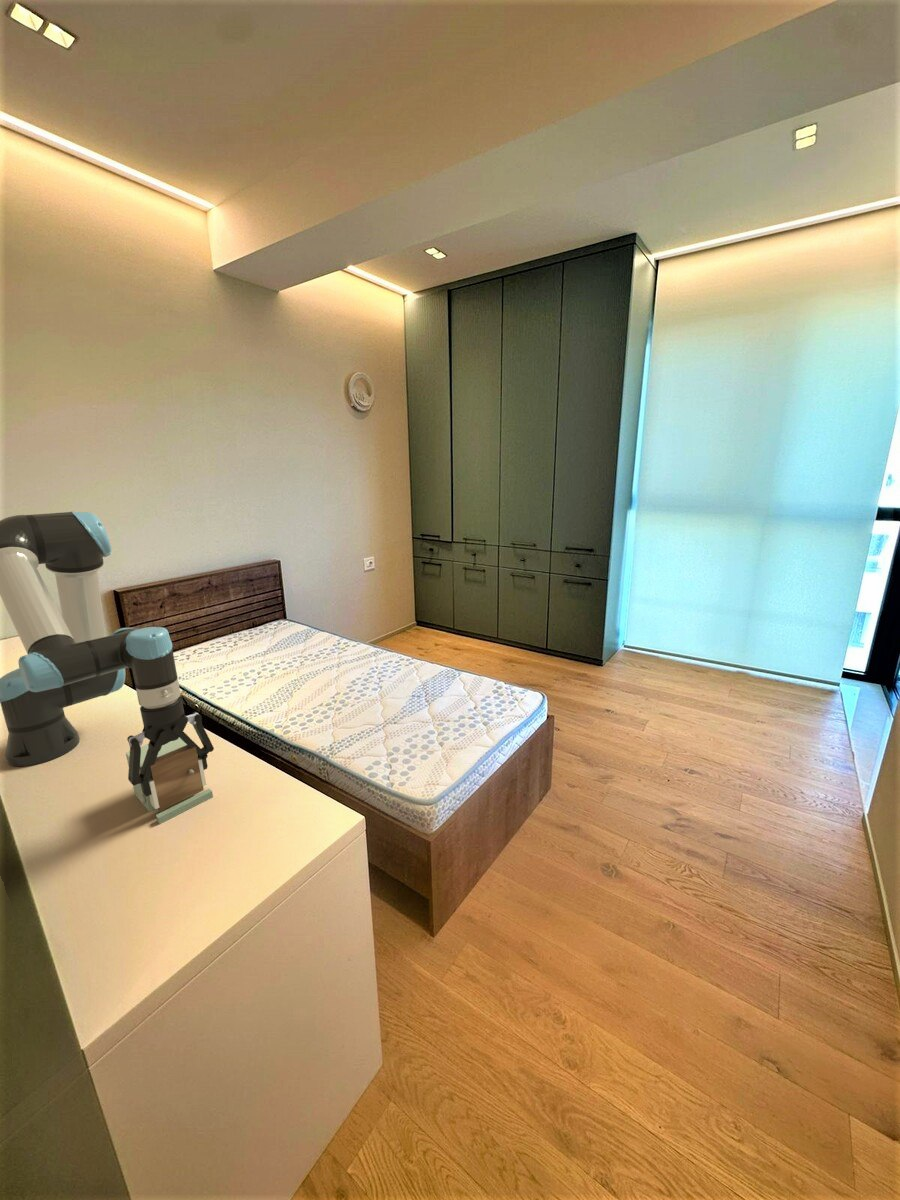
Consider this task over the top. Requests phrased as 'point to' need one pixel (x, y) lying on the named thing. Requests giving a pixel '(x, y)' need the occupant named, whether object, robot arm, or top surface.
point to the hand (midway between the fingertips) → (179, 794)
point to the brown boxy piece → (176, 776)
